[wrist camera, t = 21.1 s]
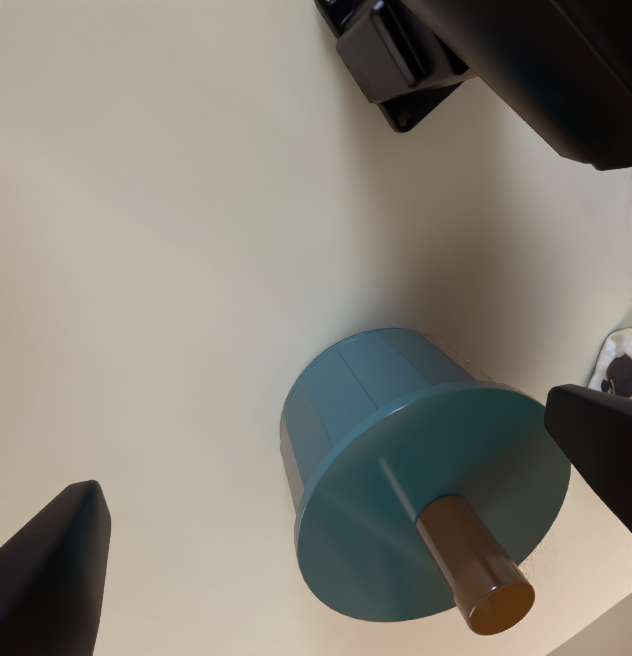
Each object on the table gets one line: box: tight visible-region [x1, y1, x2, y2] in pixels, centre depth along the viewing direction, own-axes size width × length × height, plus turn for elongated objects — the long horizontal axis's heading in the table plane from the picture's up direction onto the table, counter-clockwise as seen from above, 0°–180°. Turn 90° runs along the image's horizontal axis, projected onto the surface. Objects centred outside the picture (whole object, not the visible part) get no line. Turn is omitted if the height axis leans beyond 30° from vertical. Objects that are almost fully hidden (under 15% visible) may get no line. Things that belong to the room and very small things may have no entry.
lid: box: [294, 380, 571, 635], centre depth 16 cm, size 13×13×5 cm
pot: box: [280, 328, 496, 515], centre depth 21 cm, size 12×12×7 cm
